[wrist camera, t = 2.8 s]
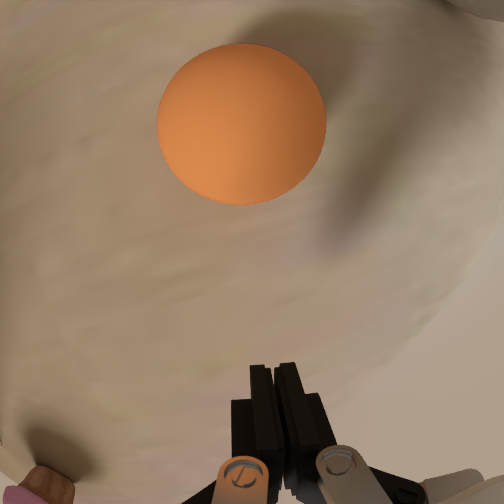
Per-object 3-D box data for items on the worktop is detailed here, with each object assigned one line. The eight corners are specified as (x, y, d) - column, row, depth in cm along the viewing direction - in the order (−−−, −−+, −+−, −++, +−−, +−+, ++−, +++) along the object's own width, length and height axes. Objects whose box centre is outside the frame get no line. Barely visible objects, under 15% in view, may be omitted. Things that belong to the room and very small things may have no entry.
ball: (175, 200, 13) (139, 222, 7) (173, 78, 12) (140, 21, 6) (303, 196, 14) (355, 214, 8) (299, 76, 12) (345, 23, 6)
